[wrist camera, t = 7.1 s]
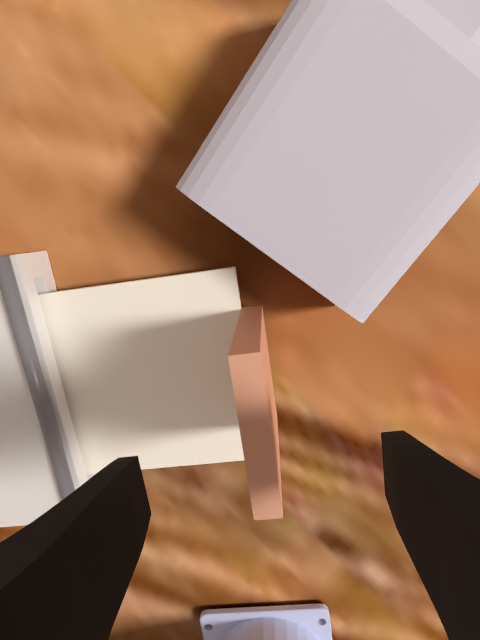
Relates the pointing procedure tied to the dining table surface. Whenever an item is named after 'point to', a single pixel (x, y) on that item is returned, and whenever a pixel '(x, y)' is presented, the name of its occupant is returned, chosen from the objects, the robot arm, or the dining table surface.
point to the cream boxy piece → (169, 376)
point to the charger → (349, 141)
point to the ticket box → (32, 399)
